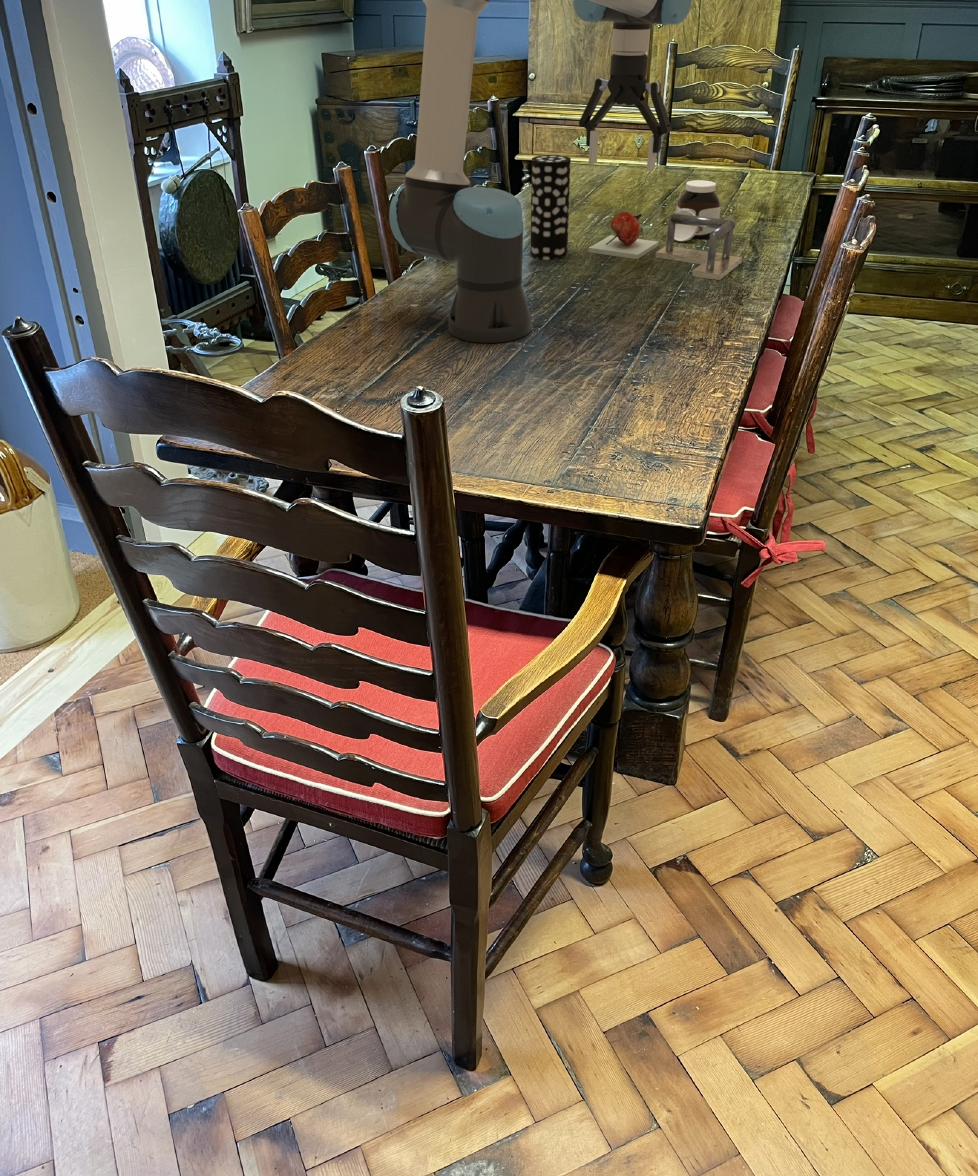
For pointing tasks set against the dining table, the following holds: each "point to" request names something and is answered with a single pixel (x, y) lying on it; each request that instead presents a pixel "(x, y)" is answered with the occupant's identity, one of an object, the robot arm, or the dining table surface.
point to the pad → (623, 248)
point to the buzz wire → (710, 260)
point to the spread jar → (697, 209)
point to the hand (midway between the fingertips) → (621, 166)
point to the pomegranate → (626, 227)
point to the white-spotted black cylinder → (550, 206)
